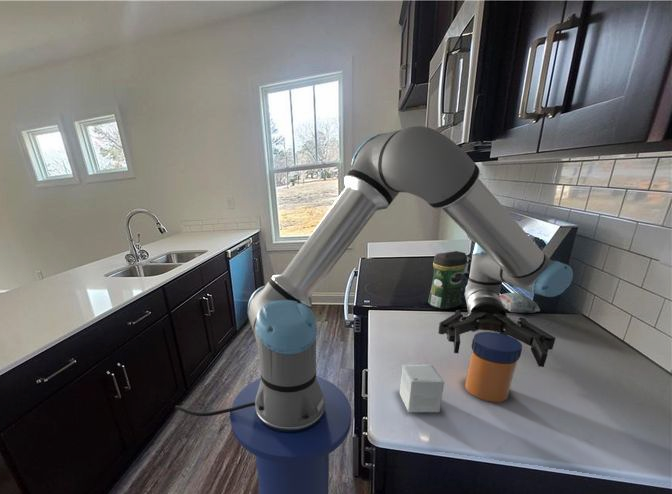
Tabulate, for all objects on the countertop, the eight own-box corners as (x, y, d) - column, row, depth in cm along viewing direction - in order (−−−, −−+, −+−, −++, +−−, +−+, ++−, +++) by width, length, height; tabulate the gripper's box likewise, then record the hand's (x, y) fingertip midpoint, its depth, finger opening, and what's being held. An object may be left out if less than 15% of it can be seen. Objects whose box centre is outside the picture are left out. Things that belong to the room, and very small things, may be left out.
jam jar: (473, 400, 64) (484, 353, 60) (459, 378, 71) (468, 334, 67) (515, 403, 63) (528, 354, 59) (496, 380, 70) (507, 335, 66)
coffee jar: (445, 299, 114) (453, 248, 107) (464, 306, 106) (473, 252, 100) (423, 303, 111) (429, 251, 104) (440, 311, 104) (448, 256, 97)
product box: (440, 413, 62) (445, 382, 59) (407, 413, 62) (411, 382, 60) (428, 393, 67) (432, 363, 65) (398, 393, 68) (402, 363, 65)
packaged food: (508, 317, 98) (512, 302, 96) (489, 302, 108) (492, 289, 107) (539, 317, 96) (543, 302, 95) (516, 302, 107) (520, 289, 105)
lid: (514, 368, 58) (517, 356, 58) (465, 353, 64) (467, 342, 63) (523, 350, 63) (526, 340, 63) (478, 338, 69) (480, 328, 68)
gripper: (546, 331, 74) (578, 384, 56) (427, 317, 85) (423, 358, 67) (554, 302, 71) (590, 348, 54) (431, 291, 82) (428, 326, 64)
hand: (498, 353), depth 60 cm, fingers open, 13 cm apart
